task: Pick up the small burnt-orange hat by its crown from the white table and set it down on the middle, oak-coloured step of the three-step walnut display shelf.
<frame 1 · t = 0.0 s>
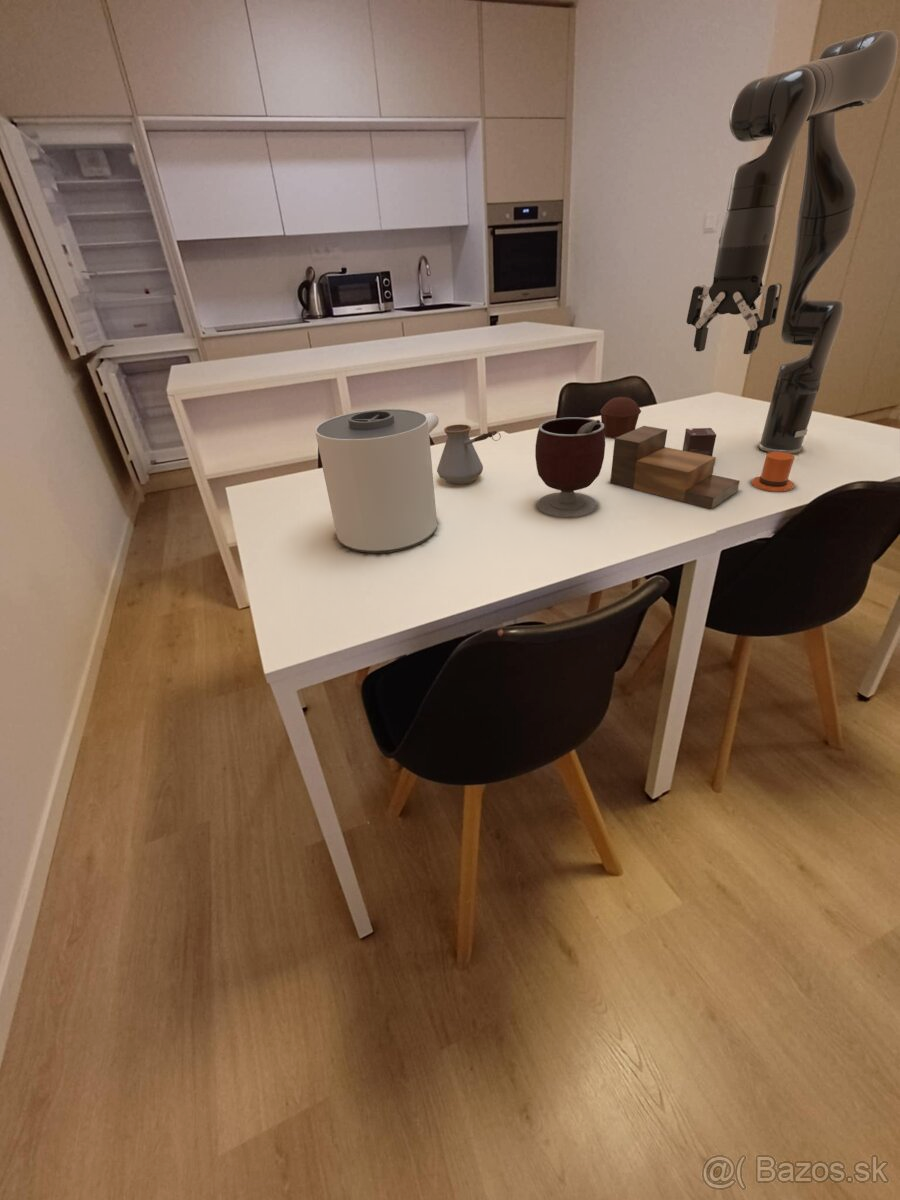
hand: (722, 352, 94), 29 cm above the table, tool pointing down, fingers open, 8 cm apart
coffee pot: (471, 485, 128), on the table
stand: (671, 487, 119), on the table
humidifier: (396, 528, 111), on the table
hat: (772, 484, 116), on the table
muffin: (618, 434, 154), on the table
box: (695, 461, 132), on the table
mate gourd: (568, 507, 114), on the table
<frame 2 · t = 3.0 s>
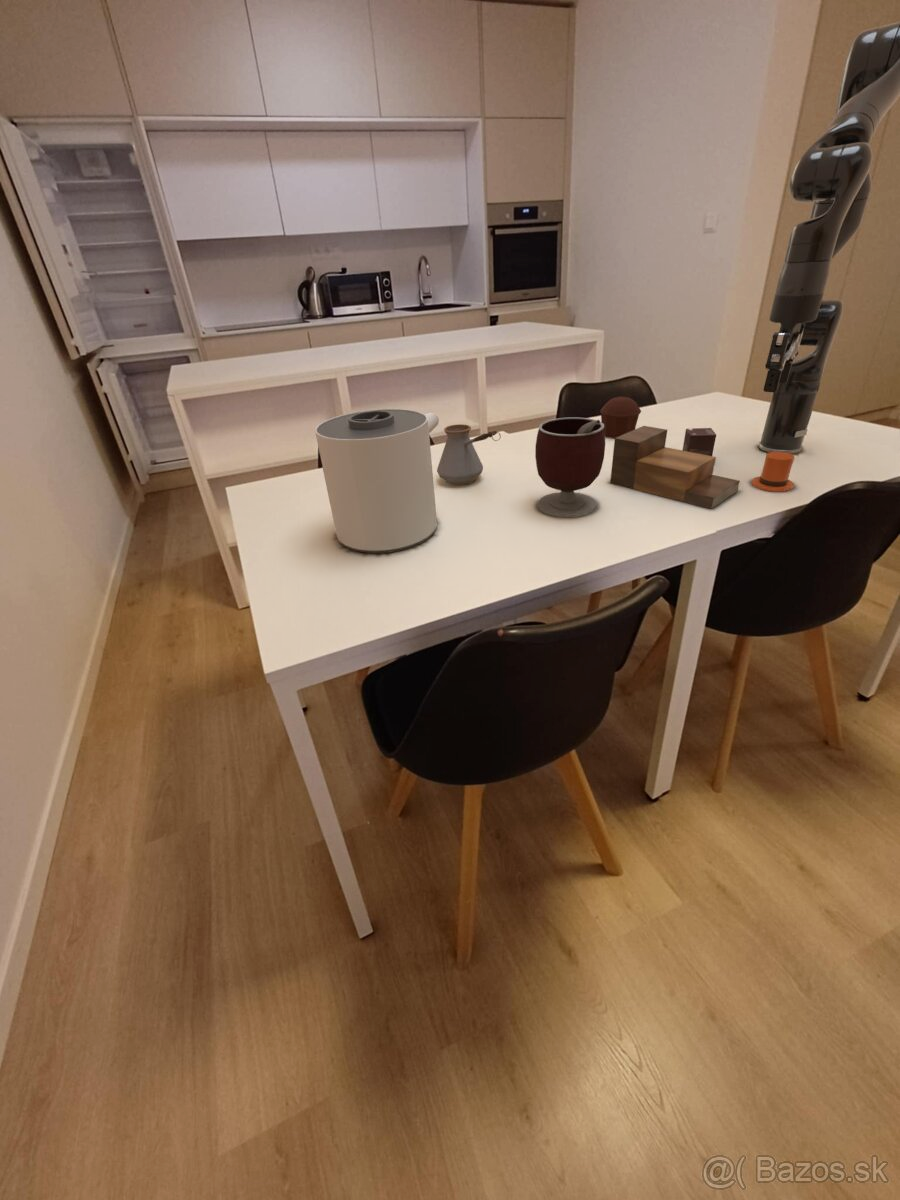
hand: (775, 387, 103), 21 cm above the table, tool pointing down, fingers open, 8 cm apart
nothing on the table moved.
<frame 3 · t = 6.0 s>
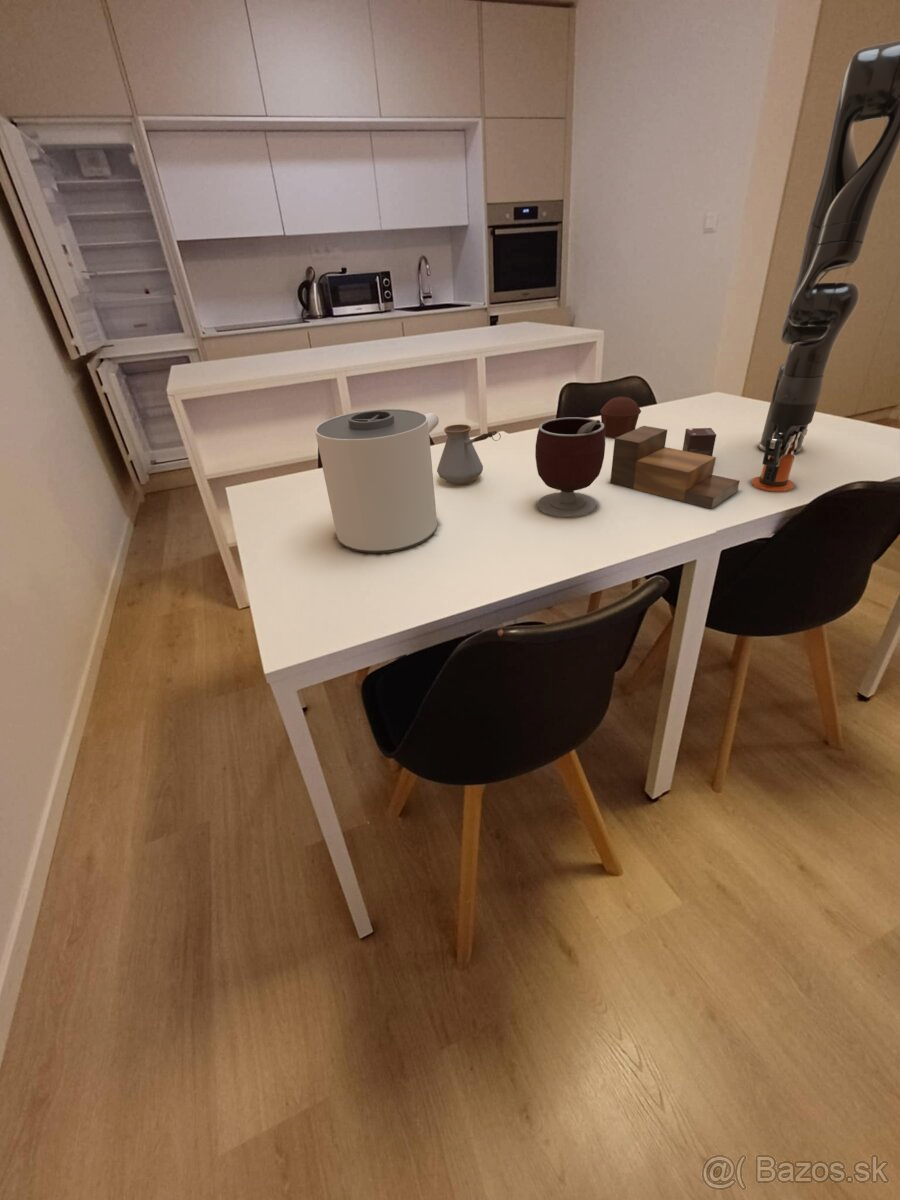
hand: (774, 478, 115), 1 cm above the table, tool pointing down, fingers closed on hat, 5 cm apart
hat: (772, 484, 116), on the table, touching gripper
everything else where it was.
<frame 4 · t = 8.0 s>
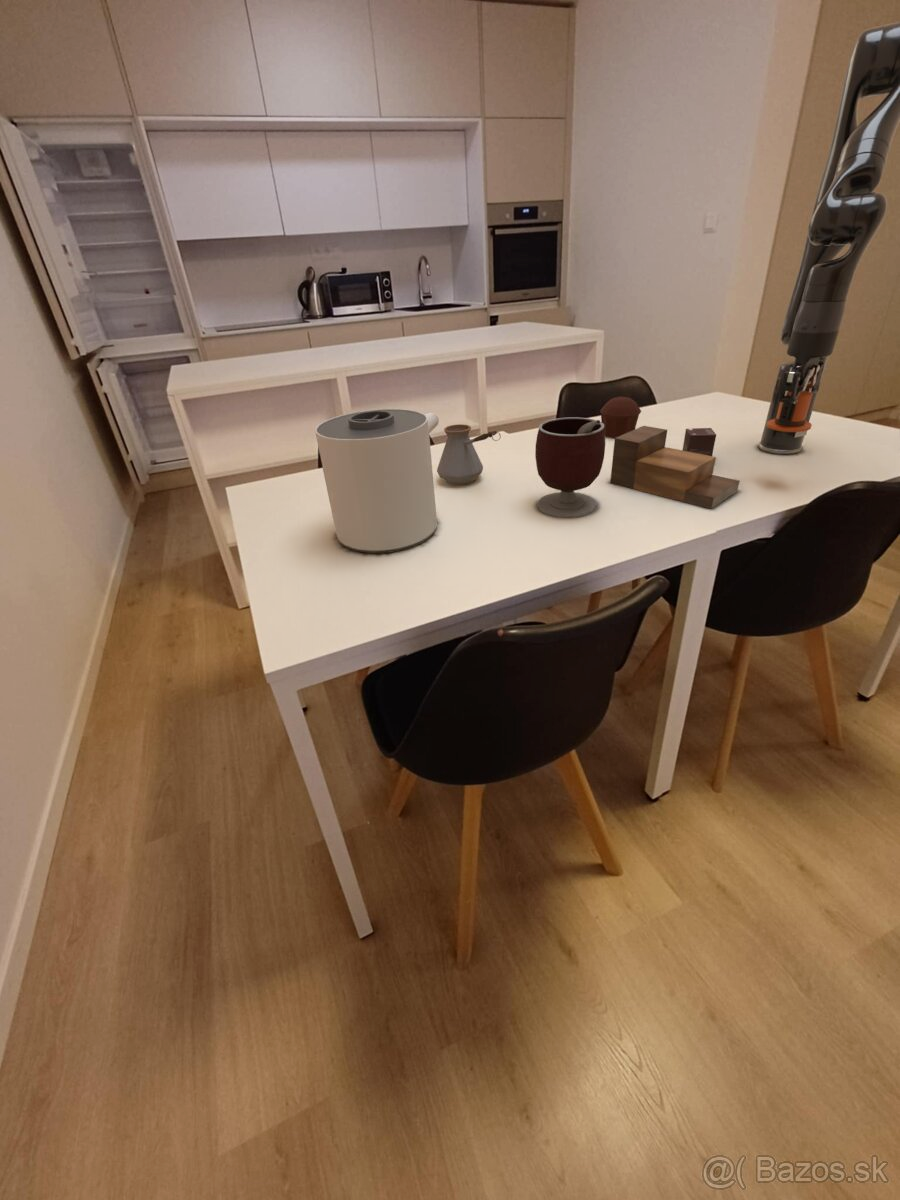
hand: (790, 418, 108), 14 cm above the table, tool pointing down, fingers closed on hat, 5 cm apart
hat: (788, 426, 109), point 13 cm above the table, touching gripper
everything else where it was.
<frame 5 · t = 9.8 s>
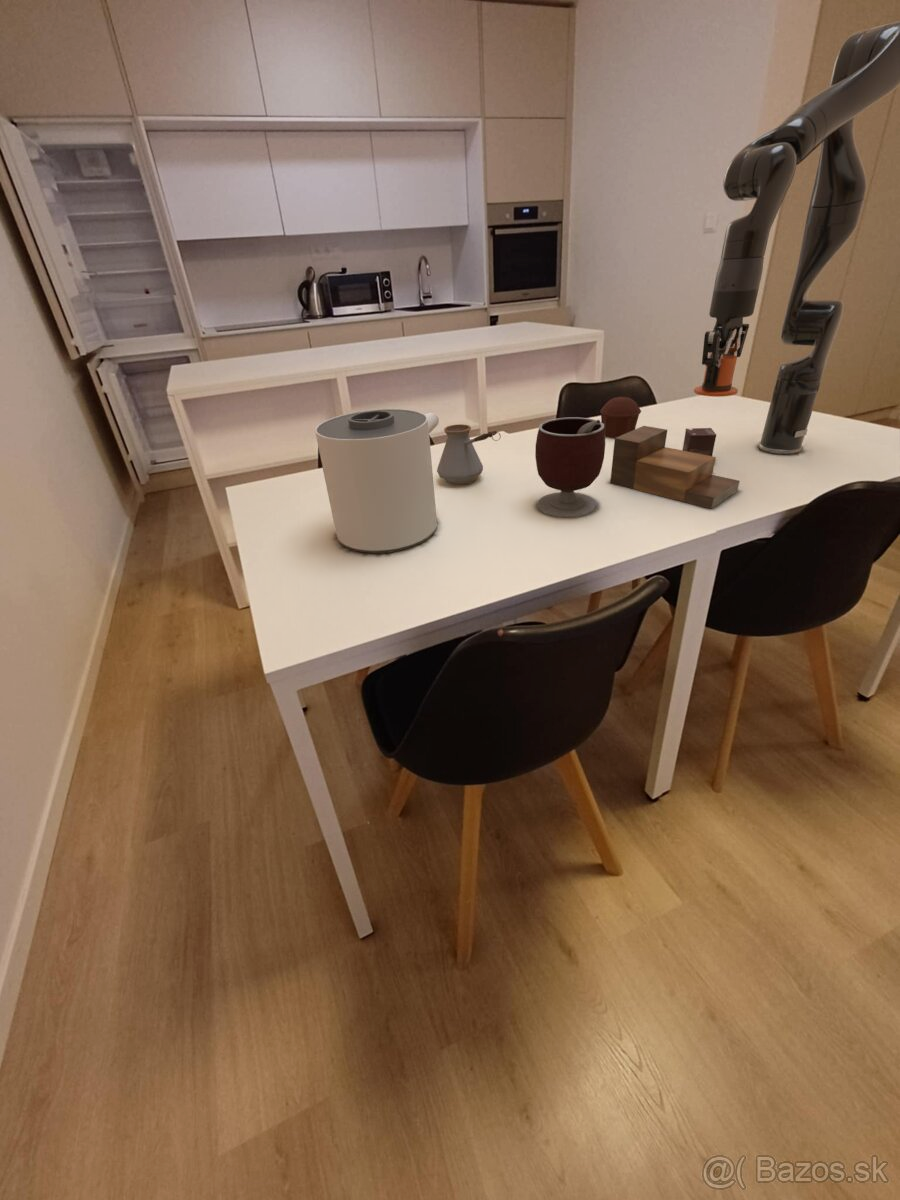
hand: (716, 384, 106), 22 cm above the table, tool pointing down, fingers closed on hat, 5 cm apart
hat: (715, 392, 107), point 20 cm above the table, touching gripper
everything else where it was.
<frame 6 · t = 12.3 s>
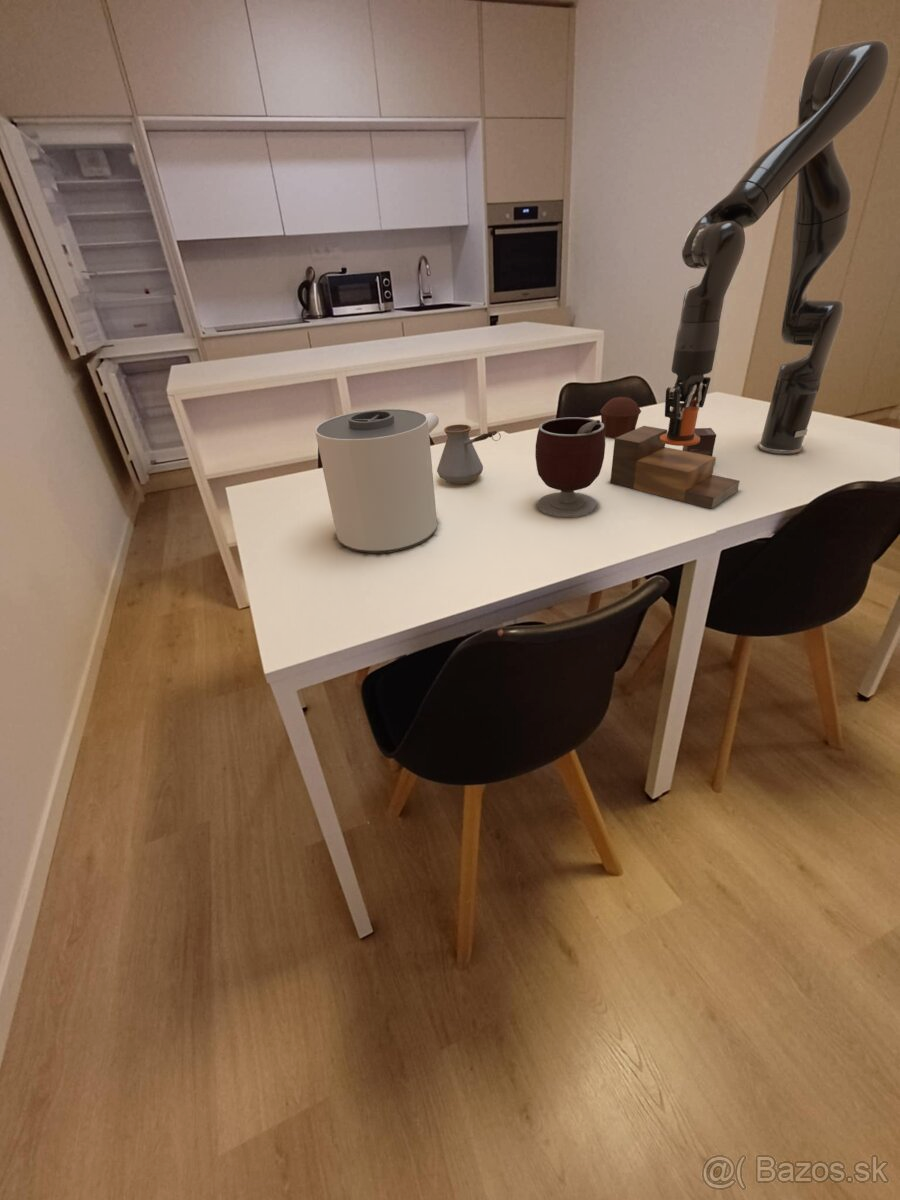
hand: (680, 433, 112), 12 cm above the table, tool pointing down, fingers closed on hat, 5 cm apart
hat: (679, 440, 113), point 11 cm above the table, touching gripper
everything else where it was.
when the fingers open (8 cm above the table, at t = 13.9 s): hat stays where it is, resting on stand.
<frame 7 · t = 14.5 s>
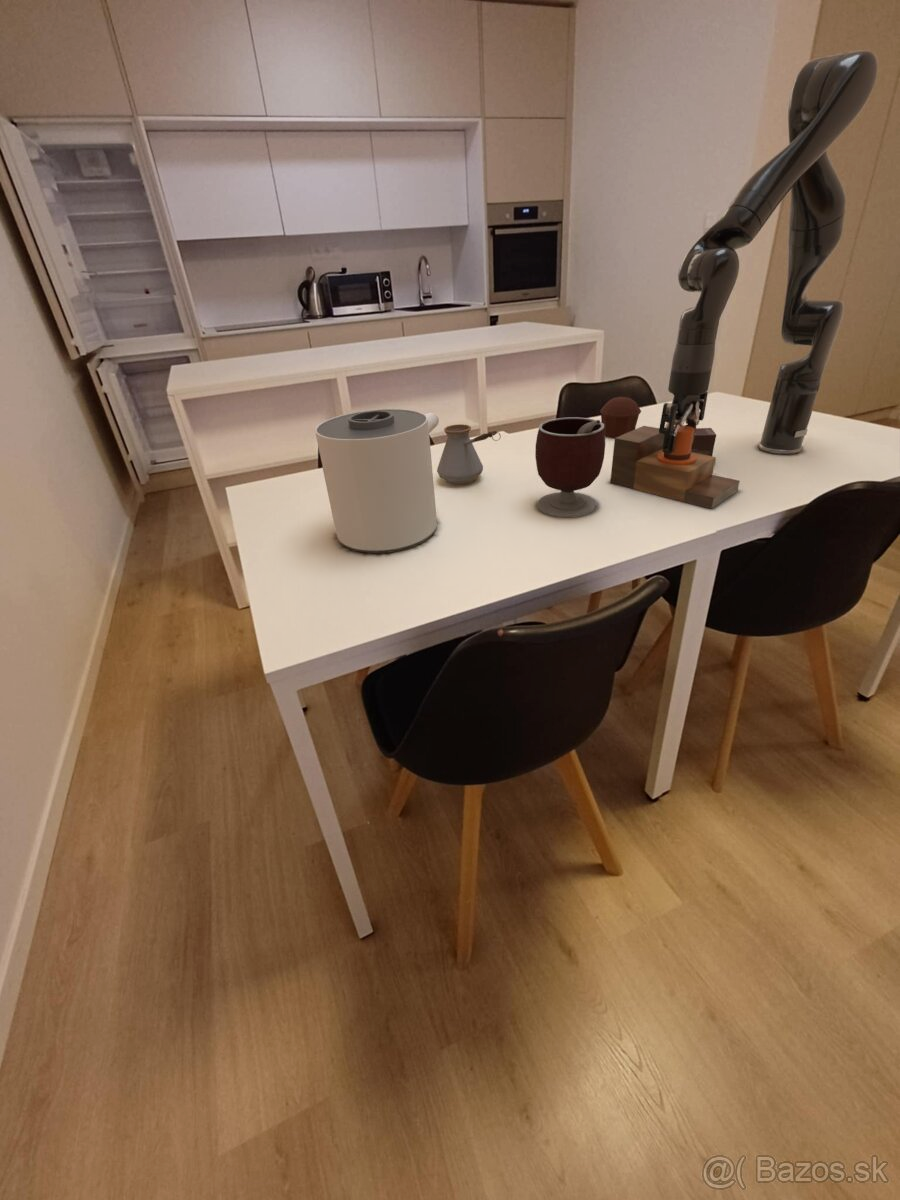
hand: (678, 447, 114), 9 cm above the table, tool pointing down, fingers open, 8 cm apart
hat: (676, 459, 115), point 6 cm above the table, touching stand
everything else where it was.
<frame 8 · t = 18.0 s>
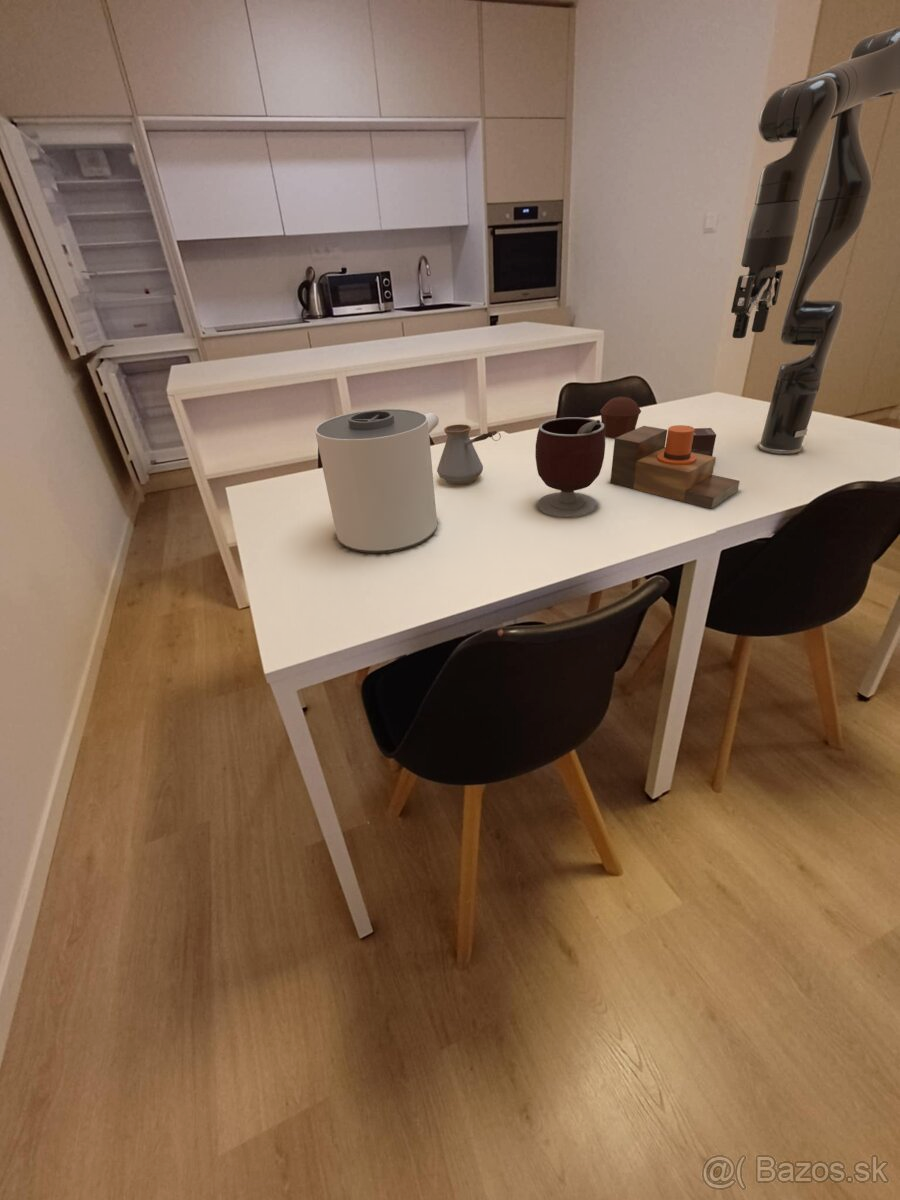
hand: (748, 334, 103), 30 cm above the table, tool pointing down, fingers open, 8 cm apart
nothing on the table moved.
at the end: hat inside the target area on the stand (0.1 cm from its centre), point 6.5 cm above the stand's base; hat tilted 0°; the gripper is holding nothing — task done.
